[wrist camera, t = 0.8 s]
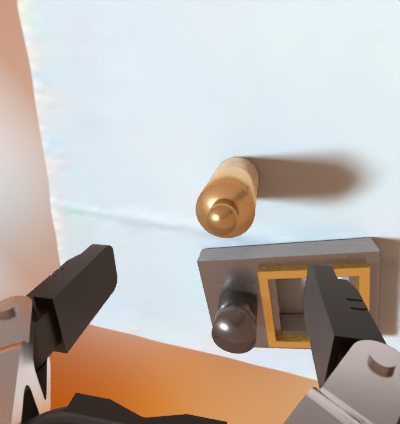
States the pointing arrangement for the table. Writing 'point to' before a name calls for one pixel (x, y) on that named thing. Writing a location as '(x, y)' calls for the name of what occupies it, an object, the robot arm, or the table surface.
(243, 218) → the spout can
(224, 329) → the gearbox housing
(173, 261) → the table surface
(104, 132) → the table surface
